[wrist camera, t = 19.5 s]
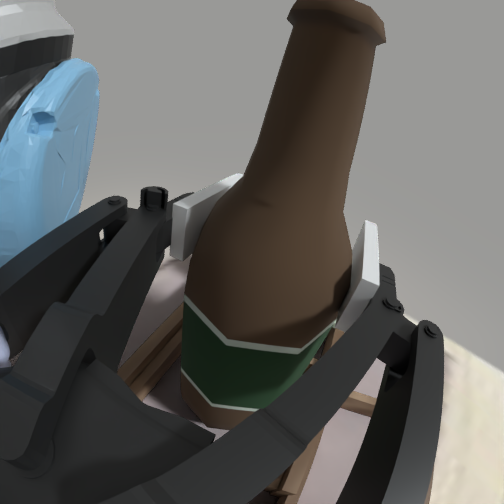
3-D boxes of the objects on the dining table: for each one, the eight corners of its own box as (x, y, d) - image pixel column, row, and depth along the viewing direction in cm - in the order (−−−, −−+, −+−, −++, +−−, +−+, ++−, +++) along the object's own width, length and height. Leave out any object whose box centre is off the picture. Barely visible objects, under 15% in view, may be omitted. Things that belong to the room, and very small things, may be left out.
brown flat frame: (85, 431, 14) (73, 417, 13) (230, 269, 35) (235, 249, 33) (405, 545, 8) (429, 541, 7) (422, 347, 29) (435, 332, 27)
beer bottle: (170, 359, 21) (213, -4, 8) (257, 345, 24) (350, 43, 11) (194, 446, 15) (307, -76, 2) (294, 420, 18) (476, 61, 5)
